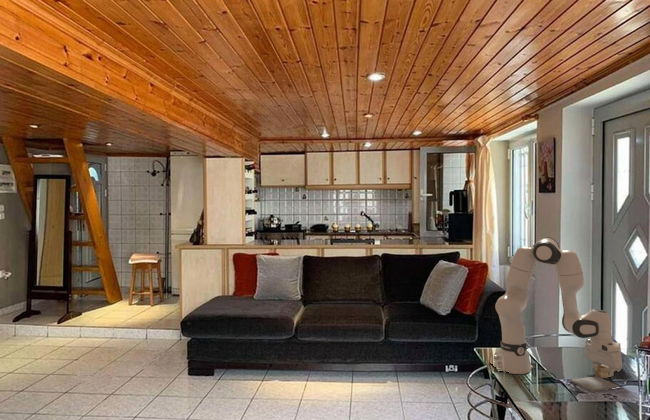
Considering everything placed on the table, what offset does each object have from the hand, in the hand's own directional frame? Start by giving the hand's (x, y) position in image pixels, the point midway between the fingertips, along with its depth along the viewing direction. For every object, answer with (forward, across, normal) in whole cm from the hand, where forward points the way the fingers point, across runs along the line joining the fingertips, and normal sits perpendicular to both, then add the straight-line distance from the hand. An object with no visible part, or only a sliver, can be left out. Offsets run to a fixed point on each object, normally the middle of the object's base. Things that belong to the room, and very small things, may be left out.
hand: (603, 372), depth 228 cm
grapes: (+2, -28, +25) cm, 37 cm away
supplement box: (+2, -8, +12) cm, 15 cm away
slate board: (+2, +8, -11) cm, 14 cm away
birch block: (+2, 0, 0) cm, 2 cm away
